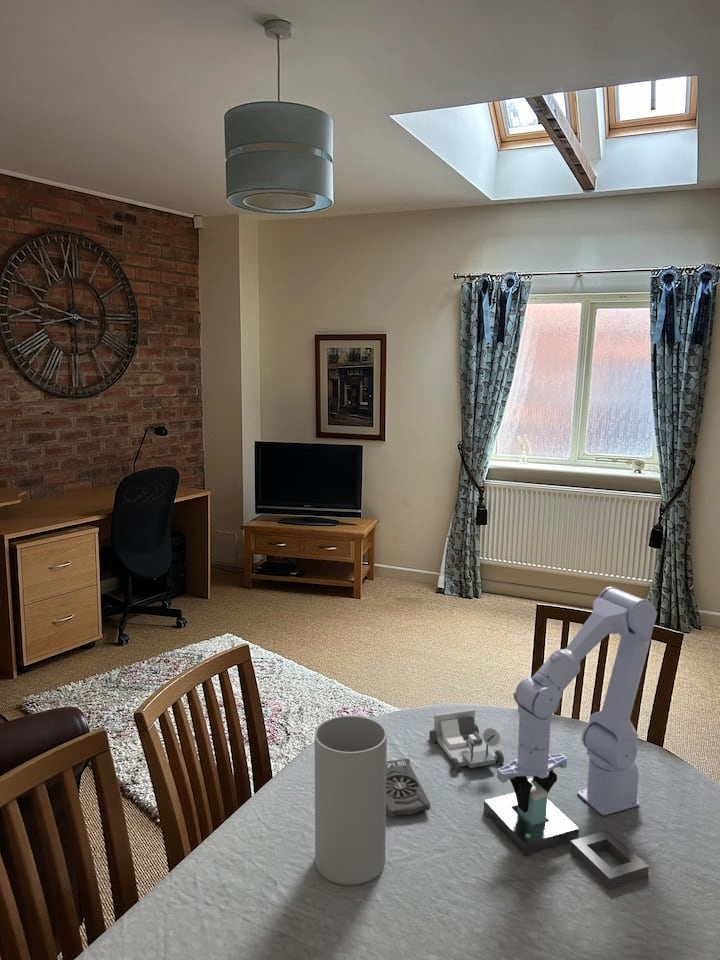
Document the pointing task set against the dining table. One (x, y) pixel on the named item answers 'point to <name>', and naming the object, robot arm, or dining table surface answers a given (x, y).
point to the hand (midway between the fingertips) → (530, 807)
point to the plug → (535, 805)
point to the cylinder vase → (350, 799)
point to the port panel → (524, 836)
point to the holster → (607, 875)
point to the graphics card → (404, 790)
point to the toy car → (465, 739)
